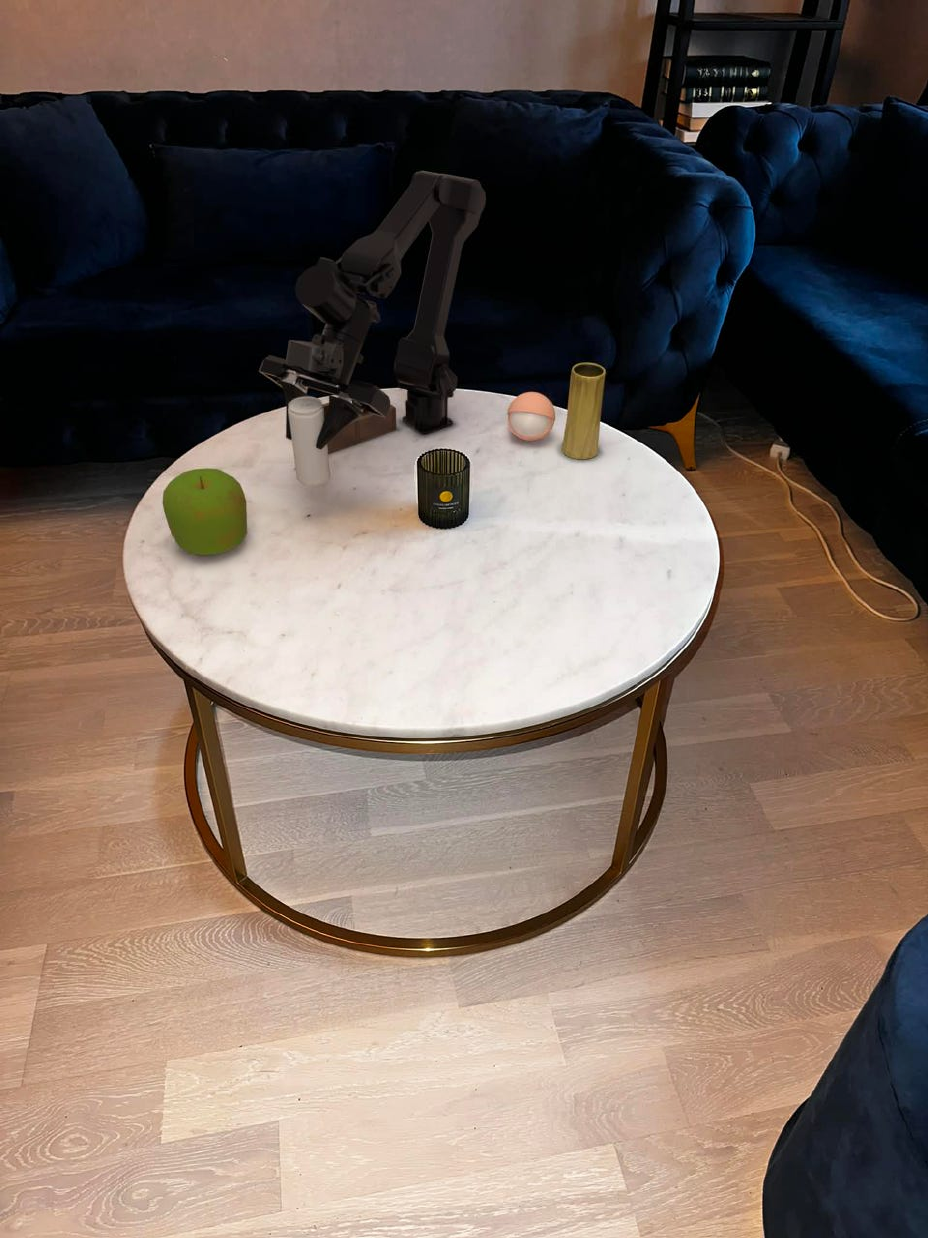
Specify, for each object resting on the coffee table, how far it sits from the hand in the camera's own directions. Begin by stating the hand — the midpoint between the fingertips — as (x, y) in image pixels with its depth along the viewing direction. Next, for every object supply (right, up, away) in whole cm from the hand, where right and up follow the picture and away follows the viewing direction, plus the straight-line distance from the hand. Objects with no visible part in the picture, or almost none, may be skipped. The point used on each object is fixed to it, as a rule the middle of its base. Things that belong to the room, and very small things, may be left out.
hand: (303, 443), depth 130 cm
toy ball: (+33, +6, +28) cm, 44 cm away
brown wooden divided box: (+2, +7, +27) cm, 28 cm away
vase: (+41, +3, +25) cm, 48 cm away
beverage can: (+1, -4, +5) cm, 7 cm away
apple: (-13, -14, +4) cm, 19 cm away
